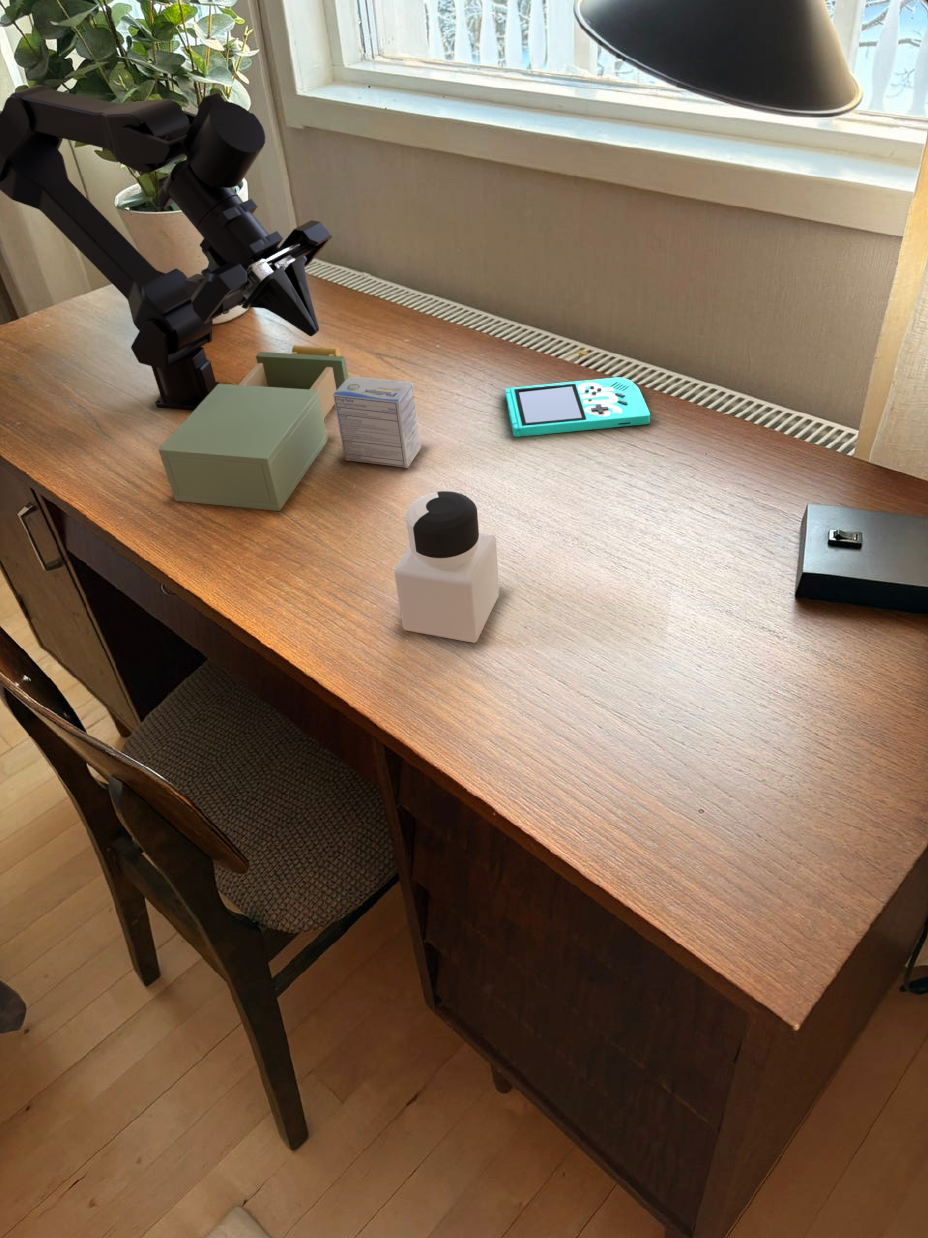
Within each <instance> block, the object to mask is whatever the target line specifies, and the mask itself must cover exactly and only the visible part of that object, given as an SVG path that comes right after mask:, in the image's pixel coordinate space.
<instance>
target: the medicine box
mask: <svg viewBox="0 0 928 1238" xmlns="http://www.w3.org/2000/svg"><path fill="white" fill-rule="evenodd" d="M333 397H334V403H335V404H334V406H335V413H336V419H337V423H338V428H339V433H340V439H341V444H342V450H343V455H344V460H345V461H351V462H360V463H368V464H374V465H383V466H391V467H398V468H405V469H408V468H410V465H412V462H413V461H414V459H415V458H416V456H417V455H418V454H419V452H420V450H421V449H422V444H421V437H420V431H419V430H420V429H419V424H418V423H419V422H418V415H417V409H416V401H415V393H414V384H413V383H412V382H410V381H403V380H402V381H401V380H393V379H383V378H375V377H364V376H353V375H351V376H349V375H348V378H347V379H346V380H345V382H344V383H343V384H342V385H341V386H340V387H339V388H338V389H337V391H336V392H335V393H334V394H333Z"/></svg>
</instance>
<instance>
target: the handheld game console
mask: <svg viewBox="0 0 928 1238" xmlns="http://www.w3.org/2000/svg"><path fill="white" fill-rule="evenodd" d="M504 394H505V402H506V407H507V412H508V416H509V420H510V421H509V422H510V426H511V430H512V431H511V432H512V435H513V437H514V438H515V437H516V438H519V437H529V436H539V435H540V436H541V435H550V434H559V433H570V432H580V431H581V432H582V431H590V430H601V429H611V428H621V427H631V426H641V425H649V424H650V422H651V413H650V411H649V408H648V406H647V403H646V401H645V398H644V397H643V394H642V392H641V390H640V388H639V387H638V385H637V384H636V383H634V381H632V380H630V379H629V378H625V377H620V376H619V377H618V376H617V377H607V378H596V379H588V380H577V381H576V380H575V381H565V382H555V383H547V384H545V383H544V384H534V385H525V386H515V387H507V388H505V393H504Z"/></svg>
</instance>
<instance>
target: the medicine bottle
mask: <svg viewBox="0 0 928 1238" xmlns="http://www.w3.org/2000/svg"><path fill="white" fill-rule="evenodd" d="M405 519H406V528H407V535H408V543H409V546H408V547H407V549H406V551H405V552H404V554H403V556H401V559H400V560H399V562H398V564H397V565H396V566H395V568H394V580H395V586H396V592H397V598H398V606H399V611H400V617H401V623H402V625H401V626H402V629H403V630H404V631H406V632H407V631H408V632H412V633H418V634H423V635H428V636H434V637H440V638H446V639H451V640H454V641H455V640H456V641H461V642H468V643H473V644H476V643H477V642H478V640H479V638H480V636H481V634H482V632H483V629H484V628H485V626H486V624H487V622H488V619H489V617H490V615H491V612H492V611H493V609H494V607H495V605H496V602H497V600H498V599H499V596H500V581H499V564H498V550H497V548H498V547H497V536H495V534H492V533H485V532H480V530H479V528H480V527H479V515H478V507H477V505H476V503H475V502H474V501H473V500H472V499H471V498H469V497H468V496H467V495H464V494H463V493H460V492H456V491H451V490H449V491H448V490H441V491H434V492H429V493H426V494H424V495H422V496H419V497H418V498H417V499H415V500H414V501H413V502H412V503H411V504H410V505H409V507H408V508H407V510H406V513H405Z"/></svg>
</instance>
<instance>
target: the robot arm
mask: <svg viewBox="0 0 928 1238" xmlns="http://www.w3.org/2000/svg"><path fill="white" fill-rule="evenodd" d="M266 138H267V136H266V131H265V129H264V126H263V124H262V123H261V121H260V120H259V118H258V116H256V114H254V113H252V112H250V111H249V110H247V109H246V108H245V107H243V106H241V105H239V104H237V103H235V102H232V101H226V100H225V99H224V98H223V97H222V95H221V94H220V92H217V91H216V92H214V93H211V94H208V95H205V96H203V97H202V99H201V100H200V103H199V105H198V110H197V113H196V114H195V113H192V112H189V111H187V110H183V107H182V105H181V104H180V103H179V102H177V101H176V100H173V99H171V98H159V99H158V98H157V99H145V100H139V101H133V102H128V103H117V102H112V101H108V100H103V99H98V98H93V97H89V96H84V95H80V94H74V93H70V92H66V91H62V90H57V89H53V88H52V87H50V86H48V85H43V84H37V85H33V86H30V87H28V88H24V89H20V90H18V91H15V92H12V93H11V94H10V95H9V96H8V97H7V98H6V99H5V102H4V104H3V107H2V111H0V191H1V192H2V193H3V194H4V195H5V196H7V197H8V198H9V199H10V200H12V201H14V202H16V203H19V204H22V205H25V206H28V207H31V208H34V209H36V210H39V212H41V213H42V214H43V215H44V216H45V217H46V218H47V219H48V220H49V221H50V222H51V223H52V224H53V226H55V227H56V229H58V230H59V231H60V232H61V233H62V234H63V235H64V236H65V237H66V238H67V240H69V241H70V242H71V243H72V244H73V246H75V247H76V249H77V250H79V252H81V254H82V255H84V256H85V258H86V259H87V260H88V261H89V262H90V263H91V264H92V265H93V267H95V268H96V269H97V270H98V271H99V272H100V273H101V274H102V275H103V276H104V277H105V278H106V279H107V280H108V281H109V282H110V283H111V284H112V285H113V286H114V288H116V289H117V290H118V291H119V292H120V293H121V295H122V296H124V298H125V299H126V300H127V303H128V307H129V312H130V315H131V319H132V323H133V325H134V326H135V327H136V329H137V330H138V331H139V332H138V333H137V335H136V337H135V339H134V340H133V342H132V344H131V345H130V349H131V351H132V353H133V354H134V356H135V358H136V360H137V361H138V363H139V364H141V365H146V366H149V367H151V370H152V374H153V377H154V379H155V383H156V385H157V389H158V392H159V395H160V396H159V398H157V399H156V400H155V401H154V404H155V406H156V407H157V408H171V409H172V408H173V409H185V410H195V409H196V408H197V407H198V406H199V405H200V403H201V402H202V401H203V400H204V399H205V398H206V397H207V396H208V395H209V394H210V392H211V391H212V390H213V389H214V388H215V387H216V386H217V385H218V384H221V382H220V381H216V378H215V374H214V370H213V367H212V362H211V360H210V359H207V355H206V352H205V348H204V347H203V346H205V345H207V344H210V343H211V342H213V325H214V322H213V320H214V319H216V318H218V317H220V316H222V315H227V314H228V313H230V310H233V309H234V308H236V307H241V308H242V309H243V310H247V309H250V308H255V309H264V310H267V311H268V312H270V313H273V314H274V315H276V316H277V317H278V318H281V319H282V320H284V321H285V322H287V323H289V324H290V325H292V326H293V327H294V328H296V329H298V330H299V331H301V332H302V333H304V334H305V335H307V336H309V337H314V335H316V334H317V333H318V332H319V331H320V327H319V323H318V320H317V315H316V311H315V308H314V303H313V300H312V297H311V292H310V288H309V284H308V278H307V273H306V267H307V266H309V265H310V264H311V262H313V260H314V259H315V258H316V257H317V256H318V255H319V253H321V251H322V250H323V249H324V247H325V246H326V245H327V244H328V242H329V241H330V240H331V239H332V238H333V235H332V234H331V232H330V231H329V230H328V228H327V227H326V226H325V225H324V224H323V223H322V221H318V220H313V219H311V220H309V221H306V223H303V224H301V225H300V226H298V227H295V228H293V230H292V231H291V232H290V233H289V235H288V236H287V237H286V238H285V240H284V237H283V236H282V235H281V234H280V232H279V231H278V230H276V231H274V232H272V233H269V232H268V231H267V229H266V228H265V227H264V226H263V224H262V223H261V222H260V221H259V220H258V218H257V217H256V216H255V214H254V213H255V211H256V209H257V208H258V205H257V204H256V202H255V201H254V199H252V198H250V199H249V198H248V199H246V200H245V201H243V199H242V198H241V197H240V196H239V194H238V192H237V191H235V189H234V188H236V187H237V186H239V185H240V184H241V183H242V181H243V180H244V179H245V177H246V175H247V173H248V172H249V170H250V169H251V167H252V166H253V164H254V163H255V161H256V160H257V158H258V156H259V154H260V153H261V151H263V148H264V146H265V144H266ZM63 140H68V141H71V142H75V143H81V144H85V145H88V146H93V147H97V148H100V149H104V150H106V151H108V152H110V153H111V154H112V156H113V157H114V159H115V161H116V162H118V163H119V164H121V165H123V166H125V167H127V168H129V169H132V170H133V171H136V172H138V173H140V174H143V175H145V174H150V173H154V172H155V171H159V170H160V169H162V168H166V167H167V166H169V165H172V164H174V163H176V164H175V165H174V166H173V167H172V169H171V172H170V173H169V174H168V175H166V176H163V177H161V178H159V179H158V180H157V184H158V196H157V198H158V205H159V207H160V208H161V209H164V208H168V207H169V206H171V205H174V204H175V205H176V207H178V209H180V211H181V212H182V213H183V215H184V216H185V217H186V218H187V220H188V221H190V223H191V224H192V226H193V227H194V228H195V229H196V231H197V232H198V233H199V235H201V237H202V238H203V239H202V240H201V242H200V243H199V247H200V248H201V252H202V254H203V255H204V256H205V257H206V259H207V261H208V264H207V267H206V268H204V269H202V270H201V272H200V273H195V274H193V275H191V276H189V277H188V276H187V275H186V274H185V273H184V272H183V271H182V270H181V269H178V268H174V269H172V270H170V271H168V272H163V271H160V270H157V269H156V268H155V267H154V266H153V265H152V264H151V263H150V262H149V261H148V260H147V259H146V258H145V257H144V256H143V254H142V253H140V252H139V251H138V250H137V248H136V247H135V246H133V245H132V243H131V242H130V241H129V240H128V239H127V238H126V237H124V235H123V234H122V233H121V232H120V231H119V230H118V228H116V226H114V225H113V224H112V223H111V222H110V221H109V220H108V219H107V217H105V216H104V215H103V213H101V211H100V210H99V209H98V208H97V207H96V206H95V205H94V204H93V203H92V202H91V201H90V200H89V199H88V197H86V196H85V195H84V194H83V192H81V191H80V190H79V188H78V187H76V186H75V184H74V183H72V181H71V180H70V179H69V175H68V171H67V167H66V163H65V159H64V155H63V153H62V152H61V151H60V150H59V149H60V148H61V145H62V142H63ZM184 159H185V160H184ZM282 241H283V242H282ZM281 242H282V243H281ZM280 244H281V245H280ZM279 245H280V246H279Z"/></svg>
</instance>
